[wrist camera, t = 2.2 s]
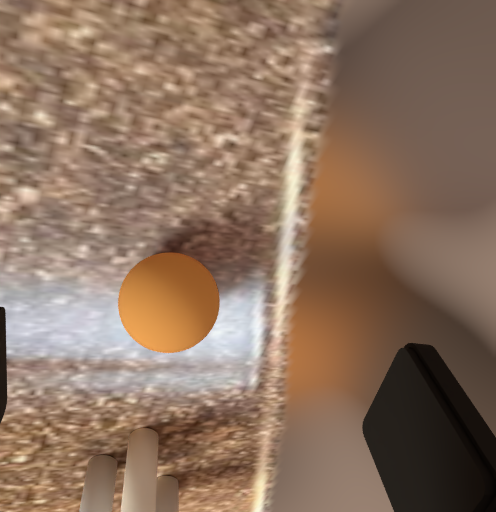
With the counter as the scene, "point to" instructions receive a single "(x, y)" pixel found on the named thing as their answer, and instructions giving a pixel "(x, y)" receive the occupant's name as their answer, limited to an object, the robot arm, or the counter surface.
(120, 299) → the ball
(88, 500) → the pin
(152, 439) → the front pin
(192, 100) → the counter surface
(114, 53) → the counter surface
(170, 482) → the pin
